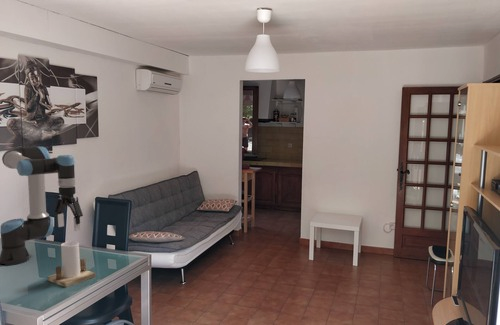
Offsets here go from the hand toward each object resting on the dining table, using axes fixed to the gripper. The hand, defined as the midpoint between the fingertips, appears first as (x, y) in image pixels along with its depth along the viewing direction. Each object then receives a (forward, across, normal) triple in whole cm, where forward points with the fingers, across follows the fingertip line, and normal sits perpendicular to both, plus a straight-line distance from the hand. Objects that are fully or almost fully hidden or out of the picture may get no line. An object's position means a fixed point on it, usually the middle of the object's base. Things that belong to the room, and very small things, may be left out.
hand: (69, 228), depth 204 cm
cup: (+24, 0, 0) cm, 24 cm away
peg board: (+26, 0, 0) cm, 26 cm away
